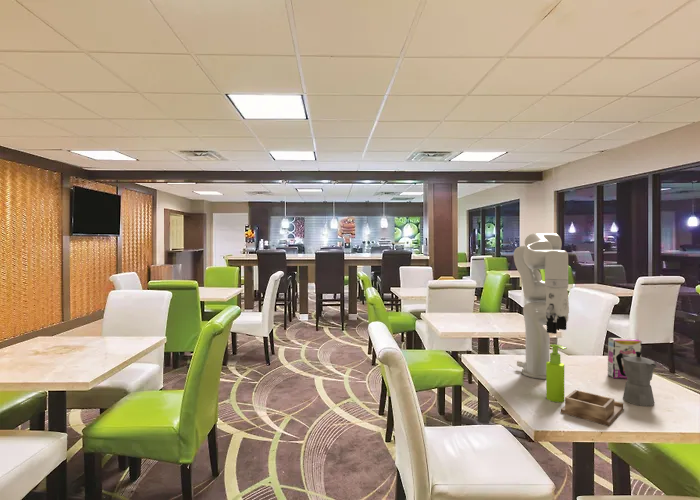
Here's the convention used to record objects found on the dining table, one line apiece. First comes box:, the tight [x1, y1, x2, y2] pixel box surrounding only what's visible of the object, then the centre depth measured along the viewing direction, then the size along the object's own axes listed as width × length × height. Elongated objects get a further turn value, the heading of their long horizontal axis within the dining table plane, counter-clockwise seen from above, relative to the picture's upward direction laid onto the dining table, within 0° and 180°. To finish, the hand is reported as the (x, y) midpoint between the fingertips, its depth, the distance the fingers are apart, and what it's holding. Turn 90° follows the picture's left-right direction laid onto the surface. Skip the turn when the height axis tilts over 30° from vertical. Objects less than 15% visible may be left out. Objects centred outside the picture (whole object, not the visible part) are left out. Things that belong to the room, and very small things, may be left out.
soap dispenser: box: [545, 343, 568, 403], centre depth 143 cm, size 6×7×20 cm
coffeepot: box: [616, 351, 658, 407], centre depth 142 cm, size 15×9×18 cm, turn 13°
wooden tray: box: [560, 389, 624, 427], centre depth 133 cm, size 14×18×5 cm
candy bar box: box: [607, 337, 643, 380], centre depth 167 cm, size 11×5×16 cm, turn 84°
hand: (556, 331), depth 143 cm, fingers open, 9 cm apart
